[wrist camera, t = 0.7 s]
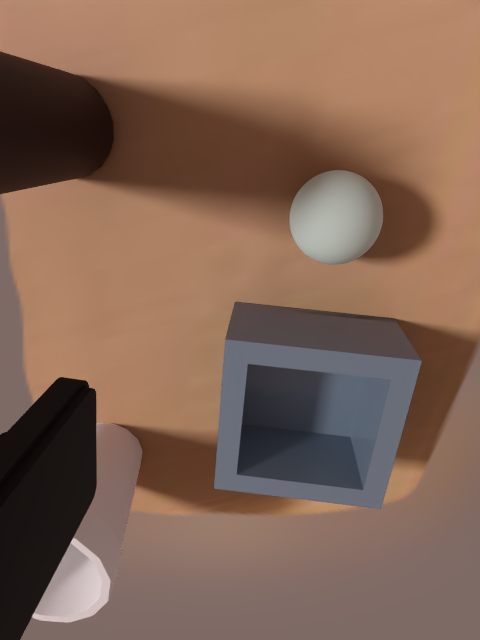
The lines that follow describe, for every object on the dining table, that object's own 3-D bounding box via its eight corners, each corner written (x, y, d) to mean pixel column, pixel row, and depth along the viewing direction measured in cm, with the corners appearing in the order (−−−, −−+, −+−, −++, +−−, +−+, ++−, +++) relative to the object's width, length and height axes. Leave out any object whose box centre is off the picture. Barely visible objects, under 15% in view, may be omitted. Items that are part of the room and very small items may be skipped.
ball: (294, 163, 30) (297, 169, 25) (380, 171, 30) (404, 178, 25) (283, 247, 33) (284, 270, 27) (364, 255, 33) (381, 280, 27)
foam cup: (64, 398, 40) (-28, 510, 28) (164, 420, 40) (115, 542, 28) (60, 477, 43) (-23, 606, 31) (151, 497, 43) (103, 634, 32)
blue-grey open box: (234, 301, 35) (225, 339, 28) (395, 318, 34) (422, 360, 28) (224, 431, 40) (213, 488, 33) (364, 447, 39) (380, 509, 33)
